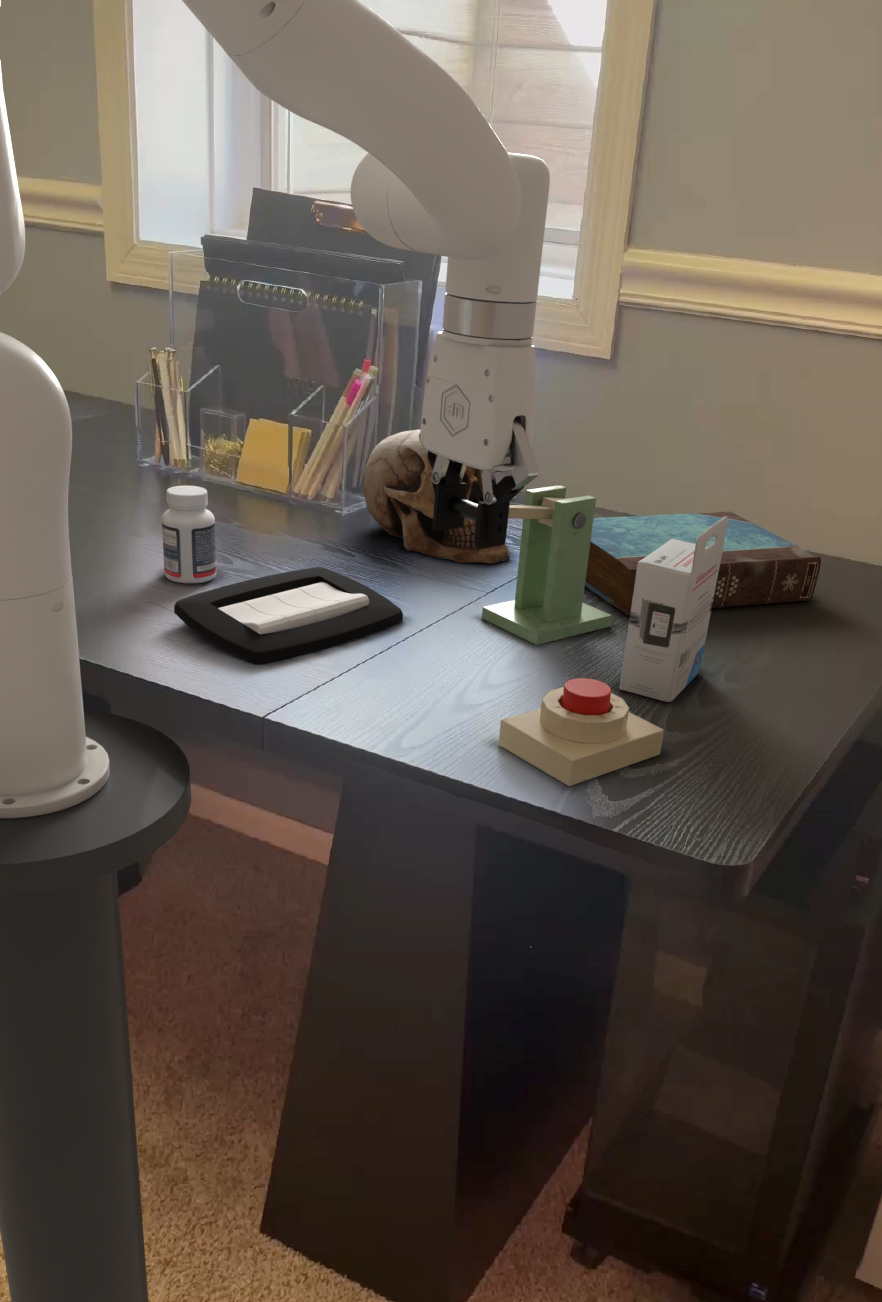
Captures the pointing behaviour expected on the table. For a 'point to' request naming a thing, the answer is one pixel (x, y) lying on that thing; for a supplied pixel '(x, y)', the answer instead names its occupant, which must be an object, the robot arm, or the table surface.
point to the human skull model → (420, 502)
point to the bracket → (552, 574)
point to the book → (749, 556)
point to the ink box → (671, 615)
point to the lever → (515, 511)
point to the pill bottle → (188, 536)
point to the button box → (579, 739)
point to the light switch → (287, 614)
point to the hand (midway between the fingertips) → (468, 534)
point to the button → (586, 696)
